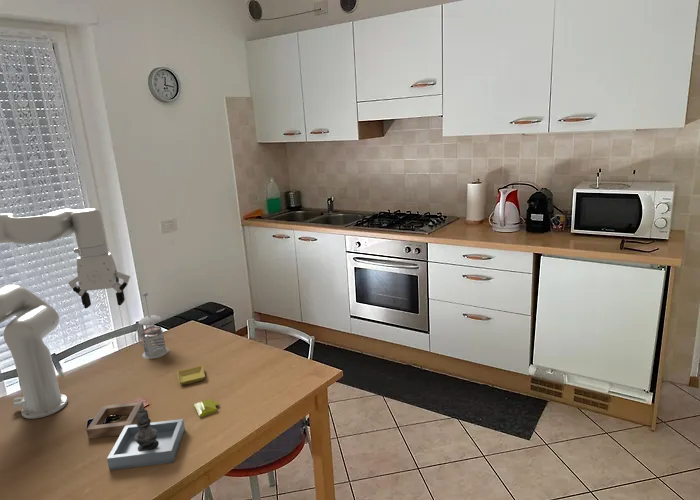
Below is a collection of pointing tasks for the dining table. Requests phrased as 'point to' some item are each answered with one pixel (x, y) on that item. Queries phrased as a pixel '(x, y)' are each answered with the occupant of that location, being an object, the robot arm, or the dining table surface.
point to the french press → (152, 337)
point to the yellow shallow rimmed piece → (191, 375)
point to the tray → (165, 452)
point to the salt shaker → (145, 432)
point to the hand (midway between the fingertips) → (104, 305)
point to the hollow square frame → (113, 429)
